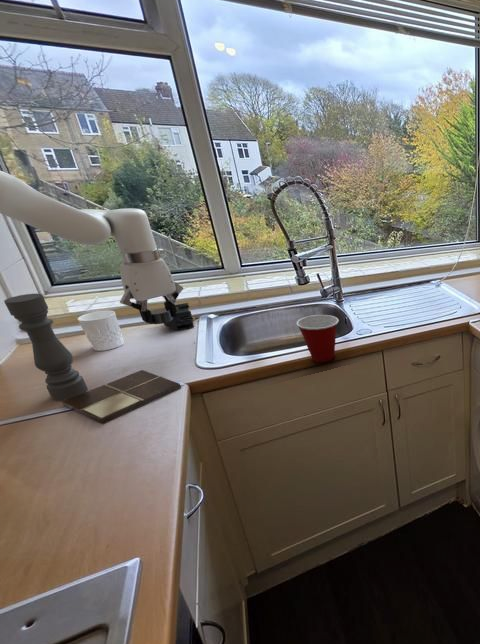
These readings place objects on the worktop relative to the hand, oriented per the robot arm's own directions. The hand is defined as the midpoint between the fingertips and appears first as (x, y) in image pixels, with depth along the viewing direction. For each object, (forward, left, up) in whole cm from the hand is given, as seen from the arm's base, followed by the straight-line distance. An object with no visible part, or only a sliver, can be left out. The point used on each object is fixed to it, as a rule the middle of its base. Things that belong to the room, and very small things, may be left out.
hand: (161, 318), depth 115 cm
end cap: (+12, +18, -11) cm, 24 cm away
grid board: (-19, -14, -11) cm, 26 cm away
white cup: (-6, +21, -11) cm, 24 cm away
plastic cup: (+16, -42, -11) cm, 47 cm away
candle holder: (-23, -1, -11) cm, 26 cm away
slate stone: (0, 0, -1) cm, 1 cm away
